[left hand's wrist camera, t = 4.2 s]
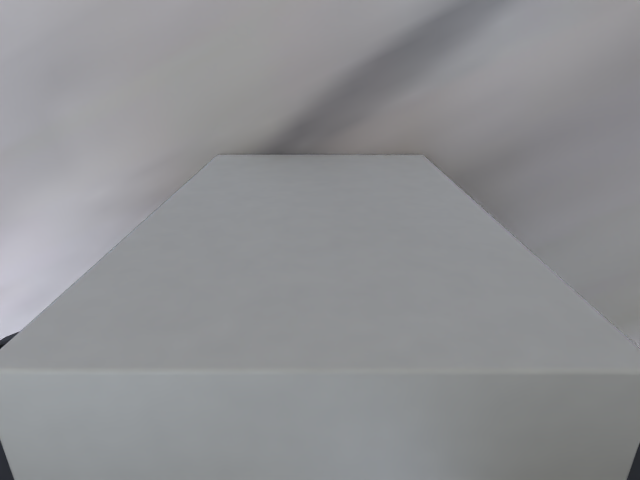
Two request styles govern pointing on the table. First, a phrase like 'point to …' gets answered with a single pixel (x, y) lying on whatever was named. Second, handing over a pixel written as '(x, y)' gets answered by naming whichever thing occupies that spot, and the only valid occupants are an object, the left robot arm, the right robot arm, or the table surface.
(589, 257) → the table surface
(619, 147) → the table surface
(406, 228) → the box
